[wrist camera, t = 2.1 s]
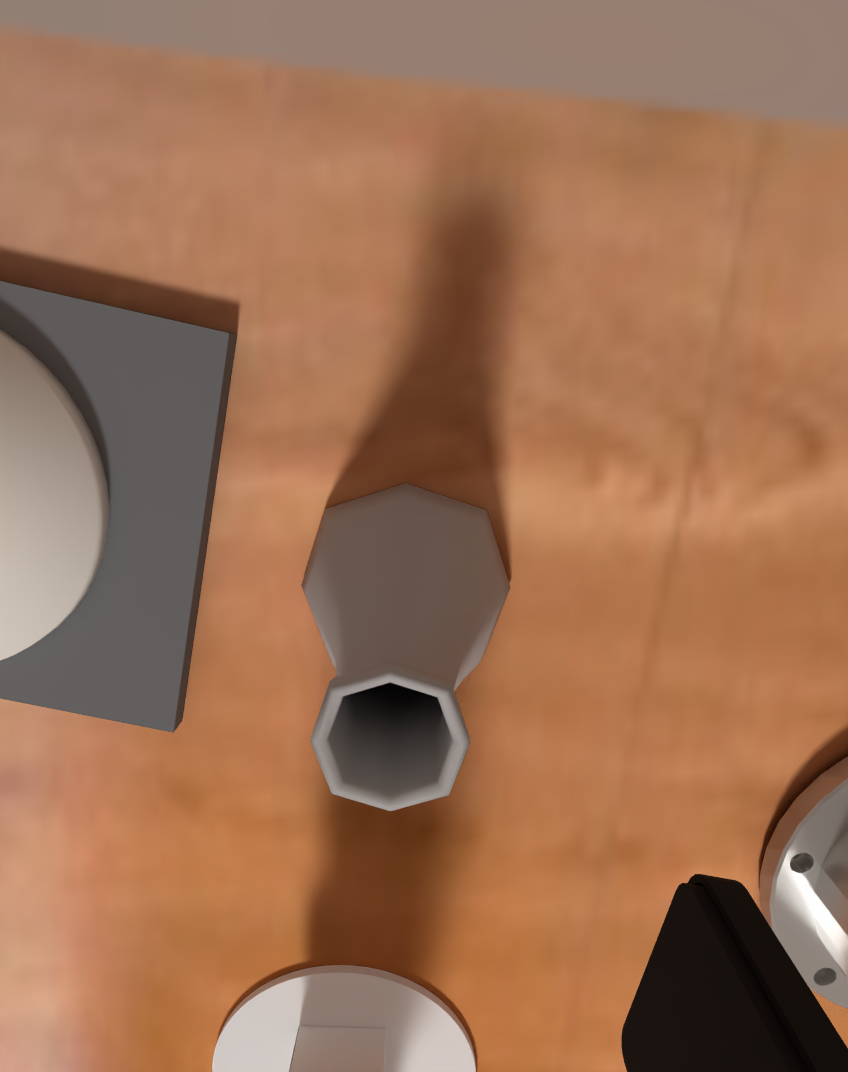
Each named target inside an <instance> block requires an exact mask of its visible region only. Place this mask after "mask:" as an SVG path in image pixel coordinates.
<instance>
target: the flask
mask: <svg viewBox="0 0 848 1072" xmlns="http://www.w3.org/2000/svg"><path fill="white" fill-rule="evenodd" d="M302 588H303V591H304V593H305V596H306V598H307V601H308V603H309V606H310V609H311V611H312V614H313V616H314V619H315V621H316V624H317V627H318V629H319V632H320V634H321V637H322V639H323V642H324V644H325V647H326V650H327V652H328V655H329V657H330V660H331V662H332V664H333V666H334V667H335V669H336V676H337V677H335V678H333V679H332V680H331V681H330V683H329V686H328V689H327V692H326V695H325V698H324V700H323V703H322V706H321V709H320V712H319V715H318V718H317V721H316V724H315V727H314V730H313V733H312V737H311V741H310V742H311V744H312V747H313V749H314V751H315V754H316V756H317V759H318V761H319V764H320V766H321V768H322V771H323V773H324V776H325V778H326V781H327V783H328V785H329V788H330V790H331V793H332V794H334V795H338V796H341V797H344V798H348V799H351V800H354V801H358V802H361V803H364V804H368V805H371V806H374V807H378V808H381V809H384V810H388V811H393V810H397V809H401V808H404V807H408V806H411V805H415V804H419V803H422V802H426V801H429V800H433V799H437V798H440V797H444V796H447V795H449V794H450V791H451V789H452V786H453V784H454V781H455V779H456V776H457V774H458V771H459V769H460V767H461V764H462V762H463V759H464V757H465V754H466V752H467V749H468V747H469V744H470V736H469V733H468V730H467V727H466V724H465V722H464V719H463V716H462V713H461V710H460V707H459V704H458V701H457V698H456V695H455V692H454V691H455V690H456V688H457V687H458V686H459V684H460V683H461V682H462V680H463V679H464V678H465V677H466V676H467V675H468V674H469V673H470V672H471V671H472V670H473V669H474V668H475V667H476V666H477V665H478V664H479V663H480V661H481V660H482V658H483V655H484V653H485V650H486V648H487V645H488V643H489V640H490V638H491V635H492V633H493V630H494V628H495V625H496V623H497V620H498V618H499V615H500V613H501V610H502V607H503V605H504V602H505V600H506V597H507V595H508V592H509V590H510V584H509V581H508V578H507V575H506V571H505V568H504V565H503V561H502V558H501V555H500V552H499V548H498V545H497V542H496V539H495V535H494V532H493V529H492V526H491V522H490V519H489V516H488V513H487V510H484V509H481V508H478V507H475V506H472V505H469V504H467V503H464V502H461V501H458V500H455V499H452V498H449V497H446V496H443V495H440V494H437V493H434V492H431V491H428V490H425V489H422V488H419V487H416V486H413V485H410V484H408V483H404V484H401V485H398V486H395V487H392V488H389V489H386V490H383V491H380V492H376V493H373V494H370V495H367V496H364V497H361V498H358V499H355V500H351V501H348V502H345V503H342V504H339V505H336V506H333V507H330V508H327V509H325V511H324V515H323V518H322V521H321V524H320V527H319V531H318V534H317V537H316V540H315V543H314V547H313V550H312V553H311V556H310V560H309V563H308V566H307V569H306V572H305V576H304V579H303V582H302Z"/></svg>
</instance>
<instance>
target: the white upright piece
mask: <svg viewBox="0 0 848 1072" xmlns="http://www.w3.org/2000/svg"><path fill="white" fill-rule="evenodd" d="M212 1072H476V1064H475V1056H474V1051H473V1047H472V1044H471V1041H470V1039H469V1036H468V1034H467V1032H466V1030H465V1028H464V1026H463V1025H462V1023H461V1022H460V1020H459V1019H458V1017H457V1016H456V1015H455V1014H454V1013H453V1011H452V1010H451V1009H450V1008H449V1007H448V1006H447V1005H446V1004H445V1003H444V1002H443V1001H442V1000H441V999H439V998H438V997H437V996H435V995H434V994H433V993H431V992H430V991H428V990H427V989H425V988H424V987H422V986H420V985H419V984H417V983H415V982H413V981H411V980H409V979H406V978H404V977H401V976H399V975H396V974H393V973H390V972H386V971H383V970H379V969H374V968H369V967H362V966H353V965H328V966H318V967H312V968H306V969H302V970H298V971H294V972H291V973H288V974H286V975H283V976H280V977H278V978H276V979H274V980H271V981H269V982H268V983H266V984H264V985H262V986H261V987H259V988H258V989H256V990H255V991H253V992H252V993H251V994H249V995H248V996H247V997H246V998H245V999H244V1000H243V1001H241V1002H240V1004H239V1005H238V1006H237V1007H236V1008H235V1009H234V1010H233V1012H232V1013H231V1014H230V1016H229V1017H228V1019H227V1020H226V1022H225V1024H224V1026H223V1028H222V1030H221V1033H220V1035H219V1038H218V1041H217V1044H216V1047H215V1052H214V1056H213V1065H212Z"/></svg>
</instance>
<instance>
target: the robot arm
mask: <svg viewBox="0 0 848 1072" xmlns="http://www.w3.org/2000/svg"><path fill="white" fill-rule="evenodd" d="M760 904H761V909H762V913H763V914H762V913H761V911H760V910H759V908H758V907H757V905H756V903H755V902H754V900H753V899H752V897H751V895H750V894H749V892H748V891H747V889H746V888H745V887H744V886H743V885H742V884H741V883H740V882H738V881H736V880H730V879H725V878H719V877H713V876H708V875H702V874H695V875H694V876H692V877H691V878H690V880H689V882H688V883H682V884H680V885H679V886H678V888H677V890H676V892H675V894H674V897H673V900H672V902H671V905H670V907H669V910H668V912H667V915H666V918H665V920H664V923H663V925H662V928H661V930H660V933H659V936H658V938H657V941H656V943H655V946H654V949H653V951H652V954H651V956H650V959H649V961H648V964H647V967H646V969H645V972H644V974H643V977H642V979H641V982H640V985H639V987H638V990H637V992H636V995H635V997H634V1000H633V1003H632V1005H631V1008H630V1010H629V1013H628V1015H627V1018H626V1021H625V1023H624V1026H623V1030H622V1053H623V1058H624V1062H625V1066H626V1069H627V1072H848V1048H847V1047H846V1045H845V1043H844V1042H843V1040H842V1039H841V1037H840V1036H839V1034H838V1032H837V1031H836V1029H835V1028H834V1026H833V1025H832V1023H831V1021H830V1020H829V1018H828V1017H827V1015H826V1014H825V1012H824V1010H823V1009H822V1007H821V1006H820V1004H819V1003H818V1001H817V999H816V998H815V996H814V995H813V993H812V992H811V990H813V991H814V992H816V993H817V994H819V995H821V996H822V997H824V998H826V999H827V1000H829V1001H831V1002H832V1003H834V1004H836V1005H839V1006H841V1007H844V1008H847V1009H848V756H847V757H846V758H844V759H843V760H841V761H840V762H838V763H837V764H836V765H834V766H833V767H831V768H830V769H828V770H827V771H825V772H824V773H823V774H821V775H820V776H819V777H818V778H817V779H815V780H814V781H813V782H812V783H811V784H810V785H809V786H808V787H807V788H806V789H805V790H804V791H803V792H802V793H801V794H800V795H799V796H798V797H797V798H796V799H795V801H794V802H793V803H792V805H791V806H790V807H789V809H788V810H787V811H786V813H785V814H784V816H783V817H782V818H781V820H780V821H779V822H778V825H777V827H776V829H775V831H774V833H773V835H772V837H771V839H770V841H769V843H768V846H767V848H766V851H765V855H764V859H763V864H762V868H761V872H760ZM810 989H811V990H810Z"/></svg>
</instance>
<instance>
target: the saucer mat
mask: <svg viewBox="0 0 848 1072" xmlns="http://www.w3.org/2000/svg"><path fill="white" fill-rule="evenodd" d="M236 337H237V335H236V334H232V333H227V332H223V331H219V330H214V329H210V328H205V327H201V326H197V325H192V324H188V323H183V322H179V321H175V320H170V319H166V318H161V317H157V316H153V315H148V314H144V313H139V312H135V311H131V310H126V309H122V308H118V307H113V306H109V305H104V304H100V303H96V302H91V301H87V300H82V299H78V298H74V297H69V296H65V295H60V294H56V293H52V292H47V291H43V290H38V289H34V288H30V287H25V286H21V285H16V284H12V283H8V282H3V281H0V698H1V699H6V700H11V701H16V702H21V703H26V704H31V705H36V706H42V707H47V708H52V709H57V710H62V711H67V712H72V713H77V714H82V715H87V716H92V717H97V718H102V719H108V720H113V721H118V722H123V723H128V724H133V725H138V726H143V727H148V728H153V729H158V730H163V731H168V732H173V733H174V731H175V730H176V728H177V727H178V726H179V724H180V723H181V721H182V716H183V709H184V702H185V695H186V688H187V681H188V674H189V667H190V660H191V653H192V646H193V639H194V632H195V625H196V618H197V611H198V604H199V597H200V590H201V583H202V576H203V569H204V562H205V555H206V548H207V541H208V534H209V527H210V519H211V512H212V505H213V498H214V491H215V484H216V477H217V470H218V463H219V456H220V449H221V442H222V435H223V428H224V421H225V414H226V407H227V400H228V393H229V386H230V379H231V372H232V365H233V358H234V351H235V344H236Z"/></svg>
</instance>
